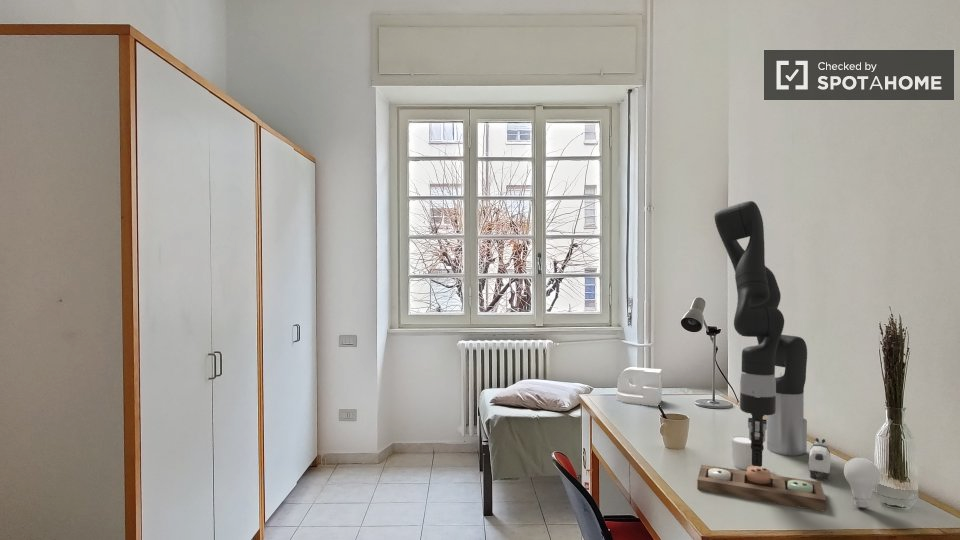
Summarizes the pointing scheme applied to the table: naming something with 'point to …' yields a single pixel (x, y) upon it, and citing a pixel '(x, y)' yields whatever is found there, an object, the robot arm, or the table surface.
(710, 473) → the button one
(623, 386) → the tape dispenser
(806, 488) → the button two
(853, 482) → the light bulb
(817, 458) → the giant panda
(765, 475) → the button three
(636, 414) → the table surface
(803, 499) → the button board
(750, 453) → the white tapered cylinder
